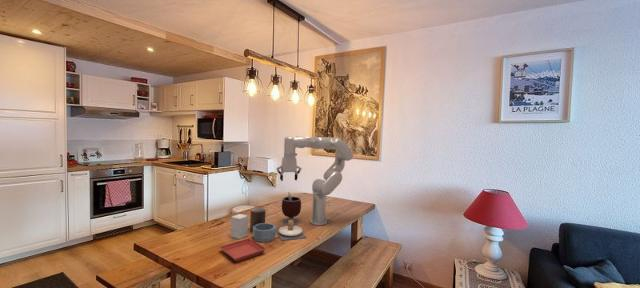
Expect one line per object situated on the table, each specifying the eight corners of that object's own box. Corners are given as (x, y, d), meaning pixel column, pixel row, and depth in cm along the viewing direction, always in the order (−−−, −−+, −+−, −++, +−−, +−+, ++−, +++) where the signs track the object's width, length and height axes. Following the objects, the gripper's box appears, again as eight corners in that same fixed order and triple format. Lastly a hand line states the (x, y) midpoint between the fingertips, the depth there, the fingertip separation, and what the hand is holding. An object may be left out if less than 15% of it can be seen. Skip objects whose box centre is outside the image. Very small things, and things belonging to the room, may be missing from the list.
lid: (298, 227, 181) (298, 215, 180) (305, 236, 167) (305, 223, 166) (276, 229, 176) (276, 217, 175) (281, 238, 162) (281, 225, 161)
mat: (297, 226, 184) (297, 225, 184) (306, 238, 166) (306, 237, 166) (274, 229, 179) (274, 228, 179) (281, 241, 160) (281, 240, 160)
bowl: (272, 233, 172) (272, 222, 171) (276, 241, 159) (277, 229, 159) (251, 235, 167) (252, 224, 167) (254, 243, 155) (254, 231, 154)
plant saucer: (219, 252, 143) (219, 246, 143) (249, 243, 156) (249, 237, 156) (234, 265, 131) (235, 258, 130) (266, 254, 143) (266, 248, 143)
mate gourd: (303, 224, 189) (304, 196, 188) (283, 226, 184) (284, 197, 183) (296, 217, 204) (297, 191, 203) (278, 219, 198) (279, 192, 197)
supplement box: (248, 235, 166) (248, 215, 165) (238, 239, 160) (239, 218, 159) (239, 233, 170) (240, 213, 169) (230, 236, 163) (230, 216, 163)
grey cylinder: (261, 233, 170) (262, 210, 169) (247, 232, 172) (247, 208, 171) (267, 228, 179) (268, 206, 179) (253, 227, 181) (254, 205, 181)
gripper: (300, 154, 187) (299, 179, 188) (275, 154, 181) (274, 179, 181) (303, 155, 180) (302, 181, 181) (278, 155, 174) (277, 181, 174)
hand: (288, 180), depth 181 cm, fingers open, 9 cm apart
